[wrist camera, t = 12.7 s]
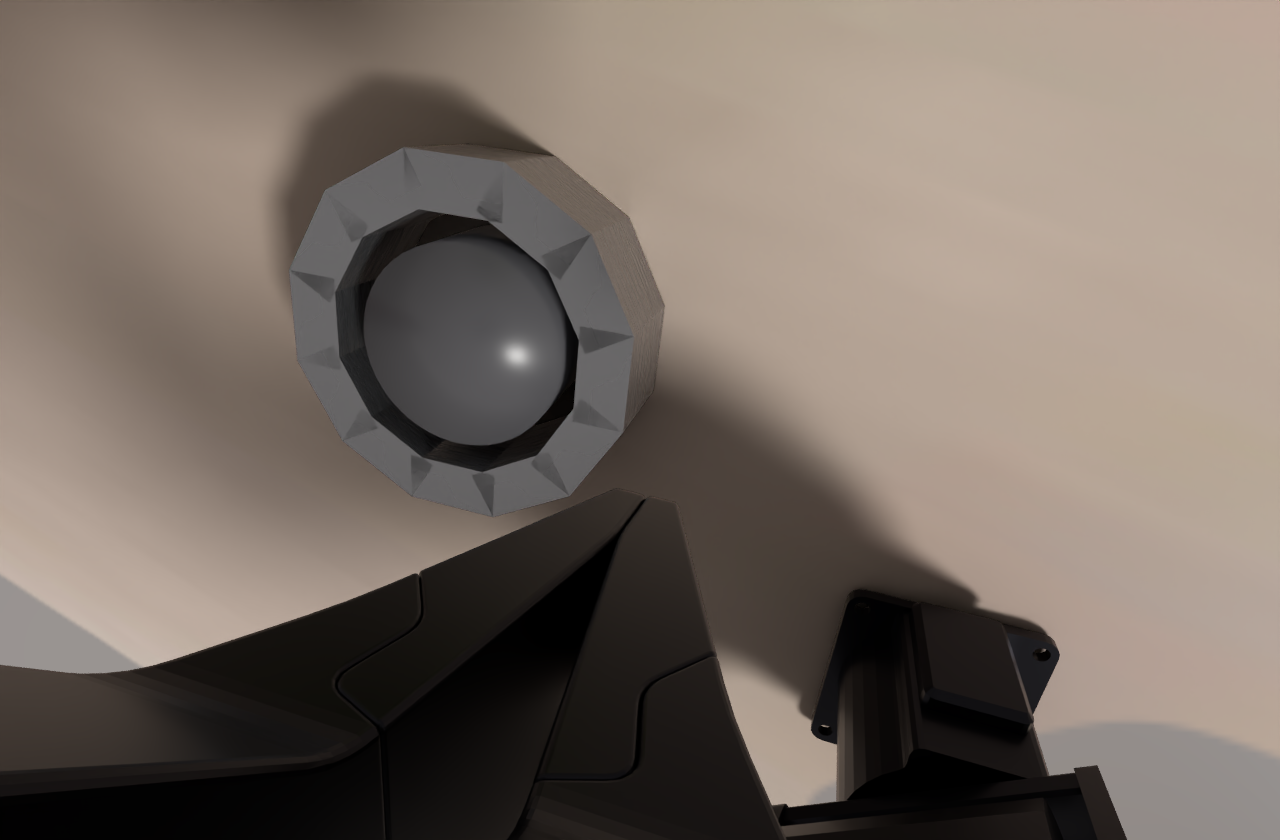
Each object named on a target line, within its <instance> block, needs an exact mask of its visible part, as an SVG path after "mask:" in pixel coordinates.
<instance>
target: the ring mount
mask: <svg viewBox="0 0 1280 840" xmlns="http://www.w3.org/2000/svg"><path fill="white" fill-rule="evenodd" d="M444 214H451V215H457V216H463V217H469V218H475V219H481V220H486V221H489V222H490V223H491V224H492V225H494V226H495V227H496V228H497V229H498V230H500V231H501V232H502V233H503V234H505V235H506V236H507V237H508V238H509V239H511V240H512V241H513V242H514V243H516V244H517V245H518V246H519V247H520V248H522V249H523V250H524V251H525V252H526V253H528V254H529V255H530V256H531V257H533V258H534V259H535V260H536V261H537V262H539V263H540V264H541V265H542V266H544V267H545V268H546V269H547V270H548V271H549V274H550V276H551V278H552V280H553V283H554V285H555V287H556V289H557V292H558V294H559V296H560V299H561V301H562V303H563V305H564V308H565V310H566V312H567V314H568V317H569V319H570V321H571V323H572V326H573V328H574V330H575V332H576V335H577V337H578V339H579V347H578V360H577V372H576V385H575V397H574V409H573V410H572V411H571V412H570V414H569V415H567V416H564V417H561V418H558V419H554V420H551V421H548V422H545V423H542V424H539V425H536V426H533V427H531V428H529V429H528V430H527V431H525V432H524V433H522V434H521V435H519V436H517V437H515V438H513V439H510V440H507V441H504V442H501V443H497V444H491V445H466V444H461V443H456V442H452V441H449V440H446V439H443V438H440V437H438V436H436V435H434V434H432V433H430V432H428V431H426V430H425V429H423V428H421V427H420V426H418V425H417V424H416V423H414V422H413V421H412V420H410V419H409V418H408V417H407V416H406V415H405V414H404V413H402V412H401V411H400V410H399V409H398V408H397V406H396V405H395V404H394V403H393V402H392V401H391V400H390V398H389V397H388V395H387V394H386V393H385V391H384V390H383V388H382V387H381V385H380V383H379V381H378V379H377V378H376V376H375V373H374V371H373V369H372V366H371V364H370V361H369V357H368V354H367V350H366V345H365V339H364V313H365V308H366V303H367V299H368V296H369V294H370V291H371V288H372V286H373V284H374V283H375V281H376V279H377V277H378V276H379V275H380V273H381V272H382V271H383V269H384V268H385V267H386V266H387V265H388V264H389V263H390V262H391V261H392V260H394V259H395V258H396V257H398V256H399V255H401V254H402V253H404V252H406V251H408V250H410V249H412V248H414V247H416V245H417V243H418V241H419V239H420V238H421V236H422V234H423V232H424V230H425V228H426V227H427V225H428V223H429V221H431V220H433V219H435V218H437V217H439V216H441V215H444ZM289 275H290V286H291V297H292V307H293V318H294V328H295V339H296V350H297V360H298V362H299V364H300V366H301V368H302V369H303V371H304V373H305V375H306V377H307V378H308V380H309V382H310V384H311V386H312V387H313V389H314V391H315V393H316V394H317V396H318V398H319V400H320V402H321V403H322V405H323V407H324V409H325V411H326V412H327V414H328V416H329V418H330V419H331V421H332V423H333V425H334V427H335V428H336V430H337V432H338V434H339V435H340V437H341V439H342V441H343V442H345V443H346V444H347V445H348V446H350V447H351V448H352V449H353V450H355V451H356V452H357V453H358V454H360V455H361V456H362V457H363V458H365V459H366V460H367V461H368V462H370V463H371V464H372V465H373V466H375V467H376V468H377V469H378V470H380V471H381V472H382V473H383V474H385V475H386V476H387V477H388V478H390V479H391V480H392V481H393V482H395V483H396V484H397V485H398V486H400V487H401V488H402V489H403V490H405V491H406V492H407V493H408V494H410V495H411V496H413V497H416V498H420V499H424V500H428V501H432V502H436V503H440V504H444V505H448V506H452V507H456V508H460V509H463V510H467V511H471V512H475V513H479V514H483V515H487V516H491V517H495V516H498V515H502V514H506V513H510V512H513V511H517V510H521V509H524V508H528V507H532V506H535V505H539V504H543V503H546V502H550V501H554V500H557V499H561V498H565V497H568V496H570V495H571V494H572V493H573V491H574V490H575V489H576V488H577V487H578V485H579V484H580V483H581V482H582V481H583V480H584V478H585V477H586V476H587V475H588V474H589V472H590V471H591V470H592V469H593V468H594V467H595V465H596V464H597V463H598V462H599V461H600V459H601V458H602V457H603V456H604V455H605V453H606V452H607V451H608V450H609V449H610V448H611V446H612V445H613V444H614V443H615V442H616V440H617V439H618V438H619V437H620V436H621V435H622V433H623V432H624V431H625V429H626V428H627V427H628V425H629V424H630V422H631V421H632V420H633V418H634V417H635V416H636V414H637V413H638V411H639V410H640V409H641V407H642V406H643V404H644V403H645V402H646V400H647V399H648V398H649V396H650V395H651V393H652V392H653V391H654V383H655V376H656V368H657V360H658V353H659V345H660V338H661V330H662V322H663V315H664V307H665V306H664V303H663V301H662V298H661V296H660V293H659V291H658V288H657V286H656V283H655V281H654V278H653V276H652V273H651V271H650V268H649V266H648V263H647V261H646V258H645V256H644V253H643V251H642V248H641V246H640V243H639V241H638V238H637V236H636V233H635V231H634V228H633V226H632V223H631V221H630V218H629V217H628V216H627V215H625V214H624V213H623V212H622V211H621V210H619V209H618V208H617V207H616V206H615V205H613V204H612V203H611V202H610V201H608V200H607V199H606V198H605V197H604V196H602V195H601V194H600V193H599V192H598V191H596V190H595V189H594V188H593V187H592V186H590V185H589V184H588V183H587V182H586V181H584V180H583V179H582V178H581V177H580V176H578V175H577V174H576V173H575V172H574V171H572V170H571V169H570V168H569V167H568V166H566V165H565V164H564V163H563V162H562V161H560V160H559V159H558V158H557V157H555V156H550V155H543V154H536V153H529V152H522V151H515V150H508V149H501V148H494V147H487V146H481V145H474V144H453V145H433V146H414V147H403V148H401V149H399V150H397V151H395V152H394V153H392V154H390V155H388V156H386V157H384V158H383V159H381V160H379V161H377V162H375V163H374V164H372V165H370V166H368V167H366V168H364V169H363V170H361V171H359V172H357V173H355V174H353V175H352V176H350V177H348V178H346V179H344V180H343V181H341V182H339V183H337V184H335V185H333V186H332V187H330V188H328V189H326V190H325V191H324V194H323V196H322V198H321V200H320V202H319V205H318V207H317V209H316V211H315V213H314V216H313V218H312V220H311V222H310V225H309V227H308V229H307V231H306V233H305V236H304V238H303V240H302V242H301V244H300V247H299V249H298V251H297V253H296V256H295V258H294V260H293V262H292V264H291V267H290V269H289Z"/></svg>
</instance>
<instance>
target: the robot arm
mask: <svg viewBox="0 0 1280 840" xmlns="http://www.w3.org/2000/svg"><path fill="white" fill-rule="evenodd" d="M858 603H865V604H867V605H869V606H868V607H866V608H859V607H857V606H856V604H858ZM1039 648H1043V649H1046V651H1045V652H1042V653H1035V652H1034V651H1035V650H1036V649H1039ZM1059 655H1060V654H1059V651H1058V649H1057V646H1056V644H1055V641H1054V640H1053V639H1052V638H1051V637H1049V636H1047V635H1045V634H1041V633H1037V632H1033V631H1029V630H1025V629H1021V628H1017V627H1013V626H1009V625H1005V624H1001V623H1000V622H999V621H996V620H992V619H988V618H984V617H980V616H976V615H972V614H968V613H964V612H960V611H956V610H952V609H948V608H944V607H940V606H936V605H932V604H928V603H924V602H920V603H916V602H912V601H908V600H904V599H900V598H896V597H892V596H888V595H884V594H880V593H876V592H872V591H868V590H862V589H859V590H855V591H853V592H851V593H850V594H849V595H848V597H847V599H846V603H845V606H844V610H843V613H842V617H841V620H840V623H839V627H838V630H837V634H836V637H835V640H834V644H833V647H832V651H831V654H830V657H829V661H828V664H827V668H826V671H825V675H824V678H823V681H822V685H821V688H820V692H819V695H818V698H817V702H816V705H815V709H814V712H813V715H812V723H811V731H812V733H813V735H814V736H816V737H817V738H819V739H821V740H823V741H827V742H830V743H834V744H837V791H836V792H837V793H836V802H829V803H820V804H812V805H804V806H796V807H788V806H787V804H779V805H771V803H770V800H769V798H768V796H767V794H766V791H765V789H764V787H763V785H762V782H761V780H760V778H759V775H758V773H757V771H756V769H755V766H754V764H753V762H752V759H751V757H750V755H749V752H748V750H747V747H746V744H745V742H744V739H743V737H742V734H741V732H740V729H739V727H738V724H737V722H736V719H735V717H734V713H733V710H732V707H731V703H730V700H729V697H728V694H727V690H726V687H725V684H724V680H723V676H722V672H721V669H720V665H719V661H718V659H717V655H716V650H715V647H714V643H713V639H712V635H711V631H710V627H709V623H708V619H707V615H706V611H705V607H704V604H703V600H702V596H701V592H700V588H699V584H698V580H697V576H696V572H695V568H694V564H693V561H692V557H691V553H690V549H689V545H688V541H687V537H686V533H685V529H684V525H683V522H682V518H681V514H680V510H679V506H678V504H677V503H675V502H673V501H668V500H664V499H660V498H656V497H648V498H646V499H645V497H644V496H643V495H642V494H639V493H635V492H631V491H626V490H622V489H614V490H611V491H609V492H606V493H604V494H602V495H599V496H597V497H594V498H592V499H590V500H587V501H585V502H583V503H580V504H578V505H576V506H573V507H571V508H568V509H566V510H564V511H561V512H559V513H557V514H554V515H552V516H550V517H547V518H545V519H542V520H540V521H538V522H535V523H533V524H531V525H528V526H526V527H524V528H521V529H519V530H517V531H514V532H512V533H509V534H507V535H505V536H502V537H500V538H498V539H495V540H493V541H491V542H488V543H486V544H483V545H481V546H479V547H476V548H474V549H472V550H469V551H467V552H465V553H462V554H460V555H457V556H455V557H453V558H450V559H448V560H446V561H443V562H441V563H439V564H436V565H434V566H431V567H429V568H427V569H424V570H422V571H421V572H420V573H419V575H418V574H412V575H410V576H407V577H405V578H403V579H400V580H398V581H396V582H393V583H391V584H388V585H386V586H383V587H381V588H378V589H376V590H373V591H371V592H368V593H366V594H363V595H361V596H358V597H356V598H353V599H351V600H348V601H346V602H343V603H340V604H337V605H334V606H331V607H329V608H326V609H323V610H320V611H317V612H314V613H312V614H309V615H306V616H303V617H300V618H297V619H294V620H291V621H288V622H285V623H282V624H279V625H276V626H273V627H270V628H267V629H264V630H261V631H258V632H255V633H252V634H249V635H246V636H243V637H240V638H237V639H234V640H231V641H228V642H225V643H222V644H219V645H216V646H213V647H210V648H207V649H204V650H201V651H198V652H195V653H192V654H189V655H186V656H183V657H180V658H177V659H174V660H170V661H167V662H164V663H160V664H157V665H153V666H149V667H144V668H139V669H134V670H130V671H121V672H111V673H96V674H95V673H92V674H77V673H65V672H56V671H48V670H39V669H30V668H22V667H12V666H5V665H0V840H1127V838H1126V836H1125V833H1124V831H1123V828H1122V826H1121V823H1120V821H1119V819H1118V816H1117V813H1116V811H1115V808H1114V806H1113V803H1112V801H1111V798H1110V797H1109V793H1108V791H1107V788H1106V786H1105V783H1104V781H1103V779H1102V776H1101V773H1100V771H1099V768H1098V766H1097V765H1096V766H1088V767H1080V768H1074V771H1075V773H1070V774H1060V775H1053V776H1049V773H1048V770H1047V767H1046V763H1045V760H1044V757H1043V754H1042V750H1041V747H1040V744H1039V741H1038V737H1037V734H1036V731H1035V728H1034V725H1033V723H1034V717H1033V713H1034V711H1035V709H1036V707H1037V705H1038V703H1039V700H1040V698H1041V696H1042V694H1043V692H1044V690H1045V688H1046V686H1047V683H1048V681H1049V679H1050V677H1051V675H1052V673H1053V671H1054V669H1055V666H1056V664H1057V662H1058V660H1059ZM821 725H828V726H830V727H823V726H821Z"/></svg>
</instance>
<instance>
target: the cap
mask: <svg viewBox="0 0 1280 840" xmlns="http://www.w3.org/2000/svg"><path fill="white" fill-rule="evenodd" d="M364 339H365V345H366V350H367V354H368V357H369V361H370V364H371V366H372V369H373V371H374V373H375V376H376V378H377V379H378V381H379V383H380V385H381V387H382V388H383V390H384V391H385V393H386V394H387V395H388V397H389V398H390V400H391V401H392V402H393V403H394V404H395V405H396V406H397V408H398V409H399V410H400V411H401V412H402V413H404V414H405V415H406V416H407V417H408V418H409V419H410V420H412V421H413V422H414V423H416V424H417V425H418V426H420V427H421V428H423V429H425V430H426V431H428V432H430V433H432V434H434V435H436V436H438V437H440V438H443V439H446V440H449V441H452V442H456V443H461V444H466V445H491V444H497V443H501V442H504V441H507V440H510V439H513V438H515V437H517V436H519V435H521V434H522V433H524V432H525V431H527V430H528V429H529V428H531V427H532V426H533V425H534V424H535V423H536V422H537V421H538V420H539V419H540V418H541V417H542V416H543V415H544V414H545V412H546V411H547V410H548V409H549V408H550V407H551V406H552V405H553V404H554V403H555V401H556V400H557V399H558V398H559V397H560V396H561V395H562V394H563V393H564V392H565V391H566V389H567V388H568V387H569V386H570V385H571V384H572V383H573V382H574V381H575V380H576V372H577V360H578V347H579V339H578V337H577V335H576V332H575V330H574V328H573V326H572V323H571V321H570V319H569V317H568V314H567V312H566V310H565V308H564V305H563V303H562V301H561V299H560V296H559V294H558V292H557V289H556V287H555V285H554V283H553V280H552V278H551V276H550V274H549V271H548V270H547V269H546V268H545V267H544V266H542V265H541V264H540V263H539V262H537V261H536V260H535V259H534V258H533V257H531V256H530V255H529V254H528V253H526V252H525V251H524V250H523V249H522V248H520V247H519V246H518V245H517V244H516V243H514V242H513V241H512V240H511V239H509V238H508V237H507V236H506V235H505V234H503V233H502V232H501V231H500V230H498V229H497V228H496V227H495V226H494V225H487V226H480V227H477V228H474V229H470V230H467V231H464V232H461V233H458V234H455V235H452V236H449V237H445V238H442V239H439V240H436V241H433V242H430V243H427V244H424V245H421V246H417V247H414V248H412V249H410V250H408V251H406V252H404V253H402V254H401V255H399V256H398V257H396V258H395V259H394V260H392V261H391V262H390V263H389V264H388V265H387V266H386V267H385V268H384V269H383V271H382V272H381V273H380V275H379V276H378V277H377V279H376V281H375V283H374V284H373V286H372V288H371V291H370V294H369V296H368V299H367V303H366V308H365V313H364Z"/></svg>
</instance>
